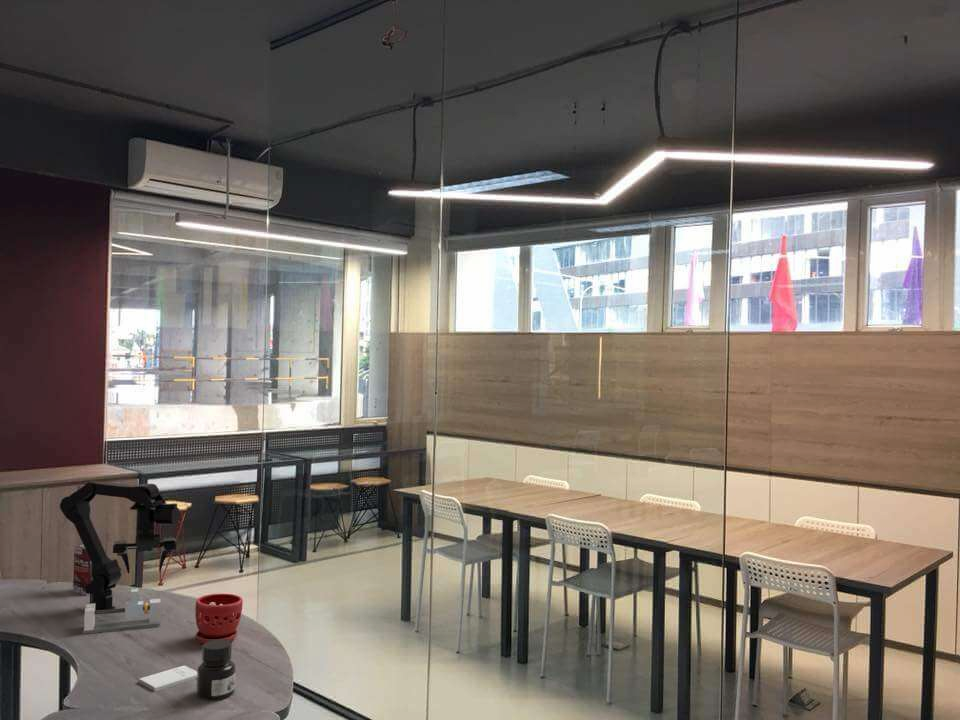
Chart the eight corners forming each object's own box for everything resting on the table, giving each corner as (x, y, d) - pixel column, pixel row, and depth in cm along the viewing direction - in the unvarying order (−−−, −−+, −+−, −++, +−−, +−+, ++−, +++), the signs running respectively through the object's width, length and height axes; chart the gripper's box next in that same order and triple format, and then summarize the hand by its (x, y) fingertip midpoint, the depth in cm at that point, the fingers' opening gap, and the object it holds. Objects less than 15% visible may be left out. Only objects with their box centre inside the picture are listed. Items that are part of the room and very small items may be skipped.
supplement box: (71, 592, 269) (73, 546, 270) (84, 588, 274) (86, 543, 274) (88, 595, 265) (89, 549, 266) (100, 592, 270) (102, 546, 270)
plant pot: (214, 650, 218) (215, 608, 218) (184, 641, 225) (186, 599, 225) (250, 637, 229) (252, 597, 229) (221, 628, 236) (222, 589, 236)
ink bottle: (219, 704, 184) (221, 653, 184) (187, 699, 186) (189, 649, 186) (242, 688, 193) (244, 640, 193) (212, 683, 196) (213, 635, 196)
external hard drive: (137, 684, 195) (183, 670, 205) (154, 694, 190) (200, 678, 200) (138, 678, 195) (183, 664, 205) (154, 687, 190) (200, 672, 200)
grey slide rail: (82, 634, 228) (83, 610, 228) (84, 626, 235) (85, 603, 235) (159, 626, 236) (160, 603, 236) (159, 619, 243) (160, 597, 243)
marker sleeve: (124, 617, 234) (125, 592, 234) (125, 614, 237) (126, 589, 238) (142, 616, 236) (143, 591, 236) (143, 612, 239) (143, 588, 239)
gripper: (112, 530, 239) (111, 581, 238) (177, 526, 246) (176, 576, 246) (114, 523, 249) (112, 571, 249) (176, 520, 256) (175, 567, 256)
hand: (144, 572), depth 250 cm, fingers open, 9 cm apart
